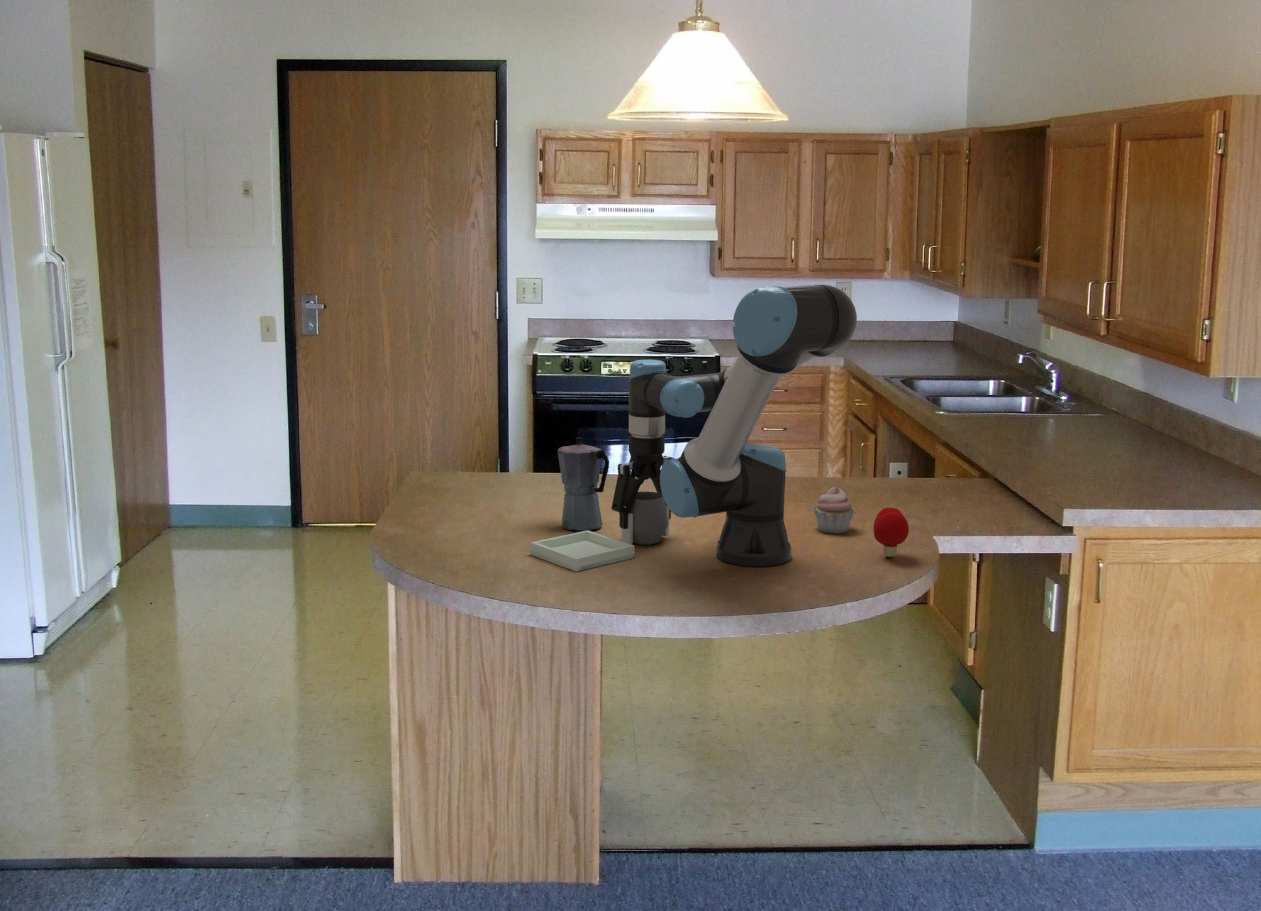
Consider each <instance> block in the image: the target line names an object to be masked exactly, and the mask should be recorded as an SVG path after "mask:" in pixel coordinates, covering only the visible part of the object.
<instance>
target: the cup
mask: <svg viewBox="0 0 1261 911" xmlns="http://www.w3.org/2000/svg"><path fill="white" fill-rule="evenodd" d="M630 513H632V514H633V543H634V544H636V545H643V546H644V545H645V546H646V545H648V546H650V545H655V544H658V543H659V542H661V540H662V538H663V537H664V536H663V535H664V533H665V531H666V529H667V526H668V519H667V513H666V506H665V501H664V498H663V495H662V494H661V493H657V491H647V490H646V491H638V493H637V495H636V498H635V500H634V503H633V505H632V508H631V510H630Z"/></svg>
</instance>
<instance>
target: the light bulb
mask: <svg viewBox="0 0 1261 911" xmlns="http://www.w3.org/2000/svg"><path fill="white" fill-rule="evenodd" d="M909 527H910V526H909V523H908V520H907V518H906V517H905V515H904V514H903V512H901V511H900V509H898V508H896V507H884V508H881V510H880V511H879V512H878V513H877V514H876V516H875V518H874V522H873V537H874V539H875V540H876V541H877V542H878V543H879V544H881V545H882V546H883V548H882V549H883V553H882V554H883V556H885V557H886V558H887V559H892V558H894V557H895V556H897V551H898V550H897V548H898V545H901V544H903V543H904V542H905V541H906V539H907V538H908V535H909V532H910V528H909Z"/></svg>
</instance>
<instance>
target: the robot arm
mask: <svg viewBox="0 0 1261 911" xmlns="http://www.w3.org/2000/svg"><path fill="white" fill-rule="evenodd" d="M732 322H733V323H734V326H733V327H732V334H733V337H734V338H733V339H734V341H735V347H736V350H737V352H738V355H737V357H736V359H735V361H734V363H732V364H731V365H730V366H728V367H726V368H725V369H723V370H722V371H720V372H716V373H715V372H714V373H705V374H704V373H703V374H693V375H682V376H681V375H680V376H677V375H676V376H674V375H669V374H668V373H667V372H668V371H667V368H666V363H665V362H664V361H662V360H660V359H659V360H658V359H638V360H634V361H632V362H631V363H630V364H629V378H628V411H629V412H628V433H629V434H630V435H629V436H628V453H629V455H630V458H629V461H628V462H627V463H618V465H617V479H616V484H615V489H614V492H613V497H612V504H611V511H612V512H613V511H614V512H617V513H618V514H619V518H618V519H619V520H618V521H619V524H618V525H619V528H620V529H621V533H620V534H621V539H620V541H622V542H625V543H628V544H631V545H633V514H632V513H630V510H631V508H632V505H633V503H634V500H635V498H636V495H637V493H638V492H639V491H640V488H641V486H642V485H643V484H644V481H646V480H648V479H650V480H651V481H652V484H653V486H654V488H655V490H656V491H655V492H657V493H661V494H662V495H663V498H664V501H665V506H666V513H667V519H668V526H667V529H666V531H665V533H664V535H663V537H669V536H670V520H671V518H672V514H673V515H675V516H677V517H678V518H684V519H685V518H697V517H702V516H709V515H715V514H722V513H725V521H724V523H723V526H722V529H721V533H720V536H719V539H718V540H717V543H716V557H717V558H718V559H719V560H721V561H723V562H725V563H728V564H732V565H737V566H743V567H744V566H745V567H773V566H777V565H779V566H780V565H783V564H786V563H787V562H789V561H790V560H791V558H792V545H791V543H790V542H789V538H788V532H787V528H786V525H785V521H784V516H785V495H786V494H785V493H786V492H785V491H786V490H785V489H786V474H787V473H786V472H787V469H786V468H787V467H786V455H785V453H784V451H783V450H782V449H780V448H778V447H774V446H771V445H767V444H762V443H755V442H748V441H749V439H750V437H751V435H752V433H753V431H754V429H755V427H756V425H757V424H758V421H759V420H760V418H761V416H762V414H763V412H764V411H765V409H766V406H767V404H768V403H769V400H770V399H771V397H772V394H773V393H774V391H775V388H777V385H778V383H779V381H780V379H782V378H783V377H785V376H787V375H789V374H790V373H791V372H793V371H795V370H797V369H798V368H800V367H801V366H803V365H804V364H806V363H808V362H809V361H811V360H812V359H814V358H816V357H817V358H824V357H825V358H826V357H827V356H830V355H831V354H833V353H835V352H836V351H837V350H839V349H840V348H842V347H844V346H845V345H846V344H847V343H848V342H849V341H850V340H851V338H852V337H853V336H854V333H855V331H856V328H857V323H858V318H857V310H856V307H855V305H854V302H853V301H852V299H851V297H850V296H848V295H847V293H846V292H844V291H843V290H841V289H840V288H837V287H836V286H832V285H828V284H813V285H812V284H811V285H810V284H809V285H791V286H780V285H770V286H766V287H760V288H755V289H753V290H751V291H749V292H747V293H746V294H745V295H743V297H742V298H741V299H740V301H739V302H738V304H737V307H736V308H735V310H734V314H733V319H732ZM704 412H705V413H706V412H710V413H709V415H708V417H707V419H706V421H705V423H704V425H703V427H702V430H701V432H700V434H699V436H698V437H695V438H692V439H691V440H689V441H687V443H686V445H685V447H684V449H683V451H682V453H681V455H680V457H678V458H675V457H672V456H667V455H664V453H665V449H666V448H665V446H666V445H665V442H666V440H665V439H666V437H665V436H664V434H666V414H669V415H670V416H674V417H676V418H685V419H686V418H691V417H694V416H695V415H697V414H698V413H704Z"/></svg>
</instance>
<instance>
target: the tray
mask: <svg viewBox="0 0 1261 911" xmlns="http://www.w3.org/2000/svg"><path fill="white" fill-rule="evenodd" d="M529 544H530V545H529V546H530V547H529V548H530V553H529V554H530V555H531V556H534V557H536V558H539V559H542V560H544V561H548V562H550V563H553V564H555V565H558V566H560V567H563V568H566V569H568V570H571V571H574V572H580V571H584V570H588V569H589V570H590V569H592V568H593V569H594V568H597V567H601V566H605V565H609V564H613V563H617V562H621V561H627V560H631V559H635V553H636V552H635V549H636V548H635V547H636V546H635V545H633V544H628V543H625V542H622V541H621V540H618V539H616V538H613V537H609V536H607V535H604V534H600V533H597V532H594V531H591V530H583V531H577V532H575V533H574V532H573V533H569V534H565V535H564V534H563V535H560V536H559V535H558V536H555V537H550V538H545V539H541V540H536V541H532V542H530V543H529Z"/></svg>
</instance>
